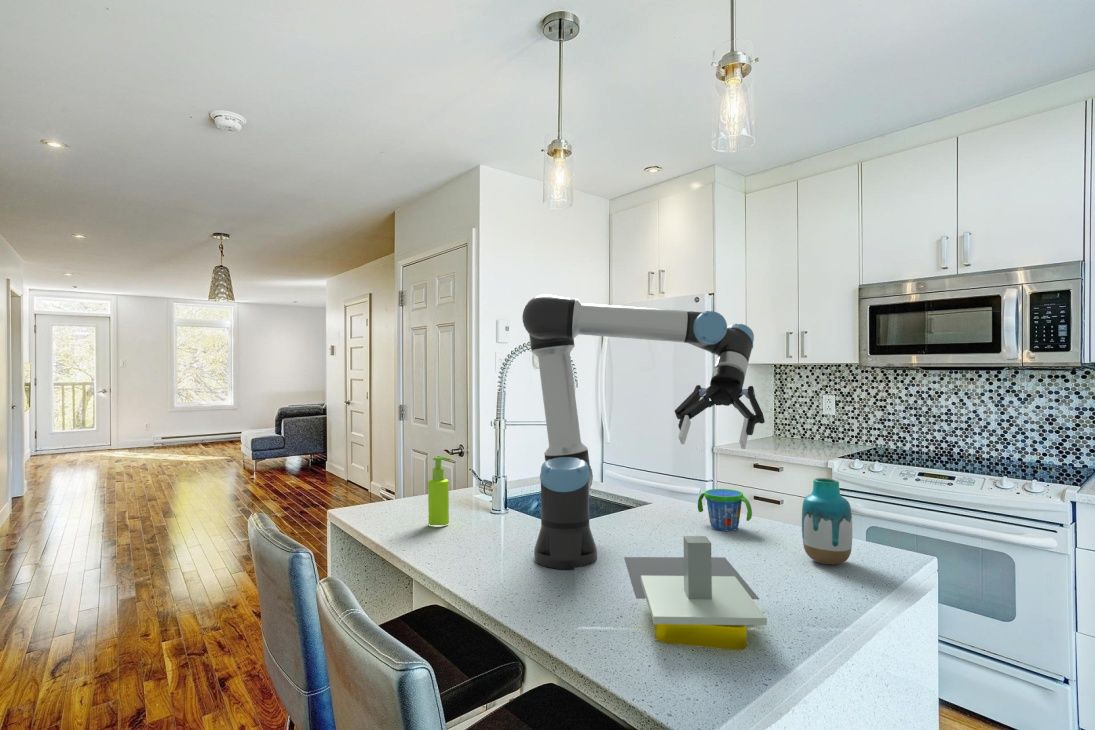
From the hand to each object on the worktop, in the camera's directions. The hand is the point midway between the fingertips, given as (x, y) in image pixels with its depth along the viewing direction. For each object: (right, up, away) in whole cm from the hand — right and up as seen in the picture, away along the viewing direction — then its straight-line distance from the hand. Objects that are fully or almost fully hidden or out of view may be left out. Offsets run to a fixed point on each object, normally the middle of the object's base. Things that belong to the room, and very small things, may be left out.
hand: (710, 442), depth 125 cm
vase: (+29, -29, +6) cm, 41 cm away
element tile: (-10, -30, -26) cm, 40 cm away
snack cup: (+14, -29, +34) cm, 47 cm away
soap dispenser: (-68, -30, +40) cm, 85 cm away
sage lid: (-10, -25, -26) cm, 37 cm away
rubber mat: (-7, -29, -3) cm, 30 cm away
